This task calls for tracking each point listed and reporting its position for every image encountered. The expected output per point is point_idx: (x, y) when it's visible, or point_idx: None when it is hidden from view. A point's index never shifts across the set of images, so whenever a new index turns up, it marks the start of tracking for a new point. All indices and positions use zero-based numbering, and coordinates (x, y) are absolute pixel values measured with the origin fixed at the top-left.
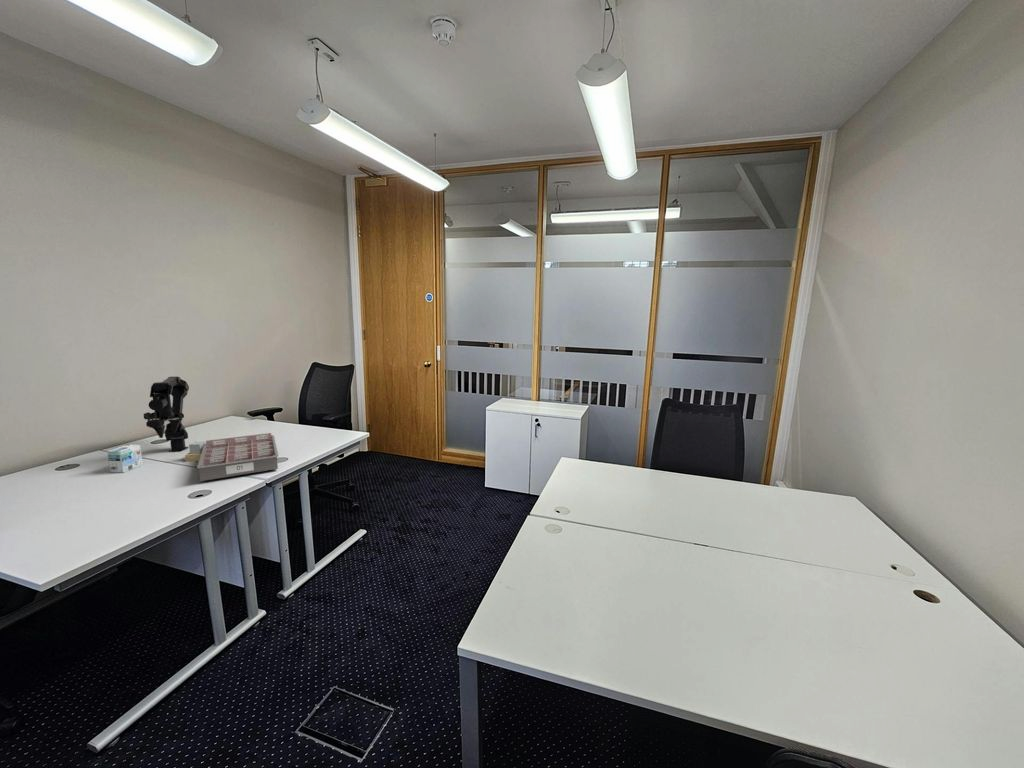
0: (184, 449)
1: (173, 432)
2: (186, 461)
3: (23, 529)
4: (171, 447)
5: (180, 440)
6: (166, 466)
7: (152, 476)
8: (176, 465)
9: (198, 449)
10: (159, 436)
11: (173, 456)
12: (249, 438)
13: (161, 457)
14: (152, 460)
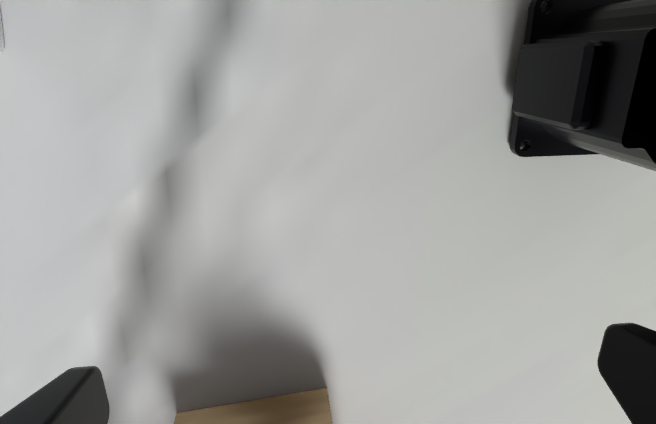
0: (569, 152)
1: (609, 342)
2: (176, 421)
3: None
4: (545, 55)
5: (652, 168)
6: (27, 341)
7: None
8: None
9: None
10: (28, 412)
11: (337, 191)
12: None
13: (303, 74)
14: (186, 42)
